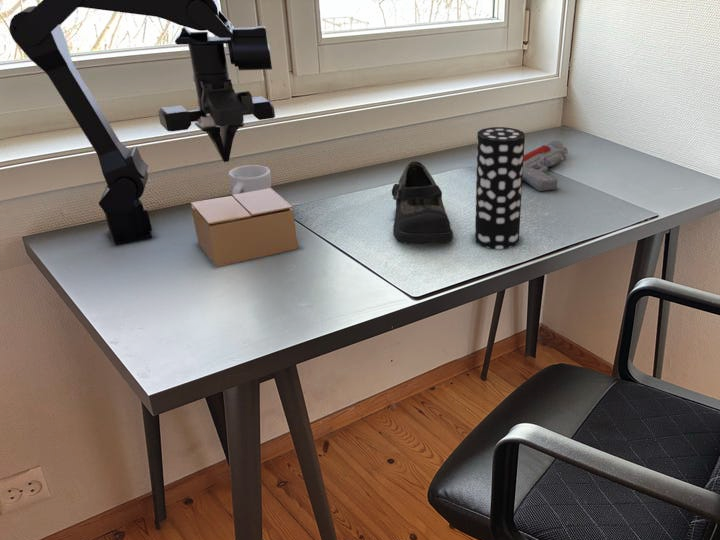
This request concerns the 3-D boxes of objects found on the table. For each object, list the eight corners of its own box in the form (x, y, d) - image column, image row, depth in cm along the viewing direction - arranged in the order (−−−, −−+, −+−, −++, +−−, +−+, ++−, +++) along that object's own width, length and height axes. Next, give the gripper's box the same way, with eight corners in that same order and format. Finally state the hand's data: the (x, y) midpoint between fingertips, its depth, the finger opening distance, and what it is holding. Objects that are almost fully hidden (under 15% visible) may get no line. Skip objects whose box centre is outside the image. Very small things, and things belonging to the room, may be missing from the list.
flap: (208, 224, 122) (208, 222, 122) (190, 203, 130) (190, 202, 129) (251, 217, 126) (251, 215, 126) (231, 197, 133) (231, 195, 133)
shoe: (397, 256, 132) (395, 203, 126) (386, 207, 151) (384, 159, 146) (457, 252, 134) (458, 200, 128) (438, 204, 153) (438, 157, 148)
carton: (216, 267, 126) (208, 223, 122) (198, 244, 134) (190, 202, 129) (298, 248, 133) (293, 206, 129) (276, 228, 141) (271, 187, 136)
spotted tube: (473, 231, 142) (475, 127, 131) (515, 230, 143) (521, 127, 132) (476, 249, 135) (479, 140, 124) (521, 248, 136) (528, 140, 125)
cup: (258, 224, 142) (252, 184, 138) (220, 220, 143) (213, 180, 139) (281, 204, 151) (276, 166, 147) (245, 201, 152) (239, 163, 148)
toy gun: (600, 151, 177) (546, 137, 183) (549, 182, 158) (489, 165, 164) (598, 165, 179) (544, 151, 185) (547, 197, 160) (488, 180, 166)
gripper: (165, 87, 115) (185, 183, 123) (280, 75, 124) (291, 165, 132) (149, 73, 123) (168, 164, 131) (258, 62, 131) (269, 149, 140)
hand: (225, 161), depth 133 cm, fingers closed
